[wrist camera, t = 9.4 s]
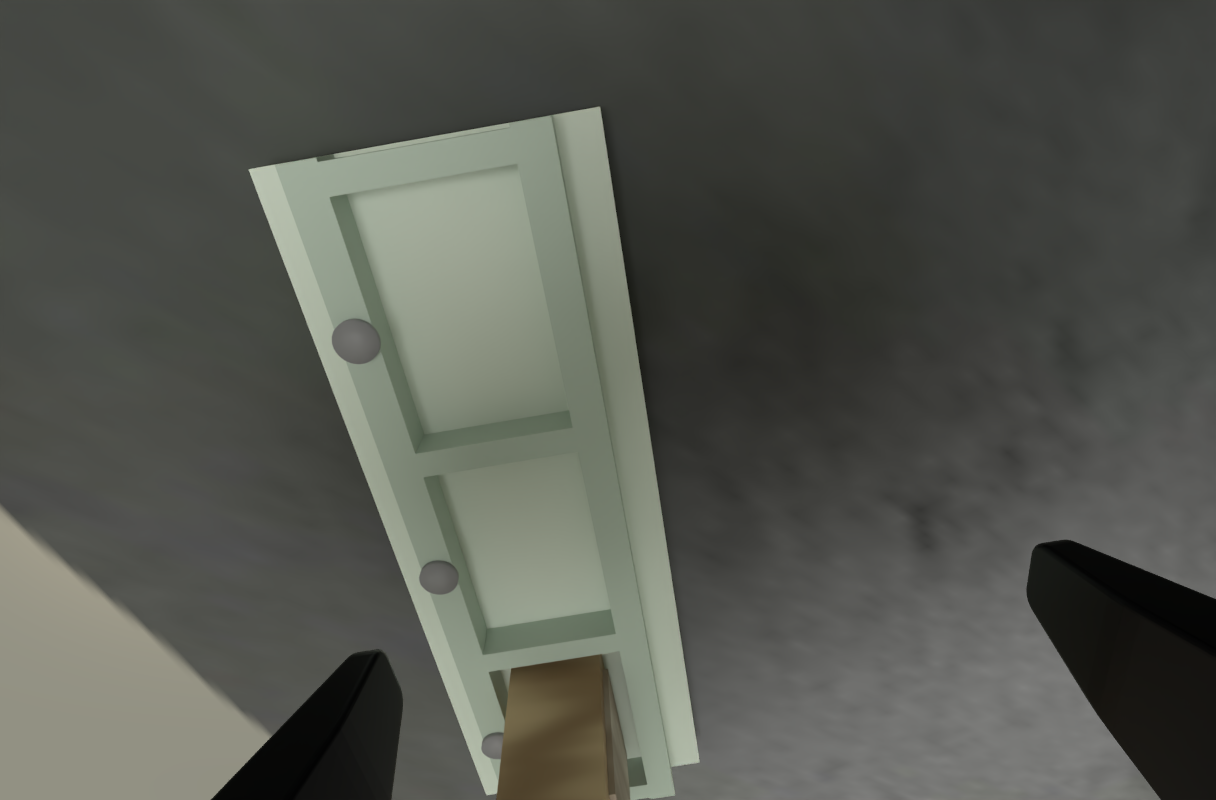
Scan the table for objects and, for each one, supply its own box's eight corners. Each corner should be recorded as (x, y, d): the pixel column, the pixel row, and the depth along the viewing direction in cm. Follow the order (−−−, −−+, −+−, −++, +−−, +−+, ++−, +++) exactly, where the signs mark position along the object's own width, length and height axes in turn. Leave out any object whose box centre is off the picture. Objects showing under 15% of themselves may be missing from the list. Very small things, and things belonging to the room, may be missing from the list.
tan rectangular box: (603, 639, 23) (612, 802, 18) (627, 748, 26) (642, 920, 20) (512, 654, 23) (493, 820, 18) (545, 760, 26) (537, 935, 20)
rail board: (598, 107, 17) (602, 106, 15) (694, 736, 27) (706, 795, 25) (269, 165, 17) (220, 174, 15) (490, 768, 28) (482, 829, 25)
